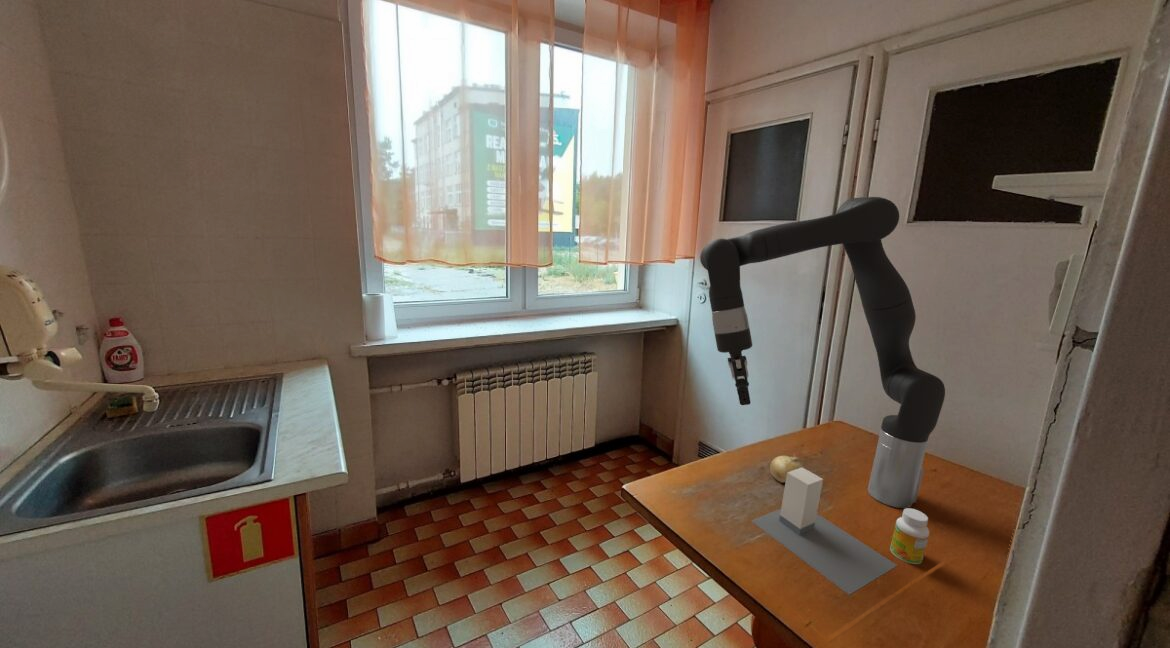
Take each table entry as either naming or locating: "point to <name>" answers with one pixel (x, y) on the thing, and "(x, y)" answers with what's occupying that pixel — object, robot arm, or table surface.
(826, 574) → the mat
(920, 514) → the supplement bottle
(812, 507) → the tall block
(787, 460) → the onion
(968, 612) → the table surface
